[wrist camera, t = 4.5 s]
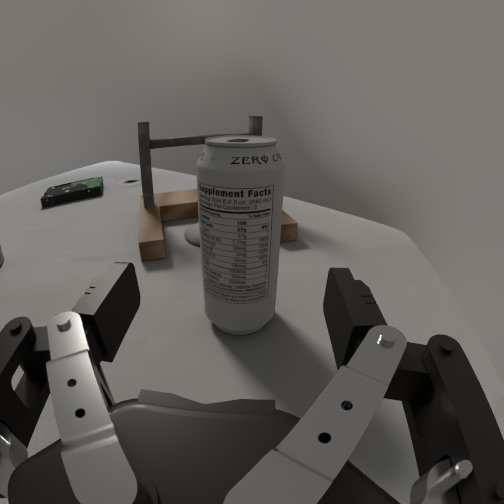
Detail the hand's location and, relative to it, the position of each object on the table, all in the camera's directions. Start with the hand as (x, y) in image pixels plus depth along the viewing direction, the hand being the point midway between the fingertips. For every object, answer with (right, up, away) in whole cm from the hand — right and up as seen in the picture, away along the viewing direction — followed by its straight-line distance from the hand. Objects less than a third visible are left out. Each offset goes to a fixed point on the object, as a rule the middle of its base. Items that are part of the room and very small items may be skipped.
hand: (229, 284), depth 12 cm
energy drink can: (0, -4, +14) cm, 15 cm away
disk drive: (-40, +14, +48) cm, 64 cm away
